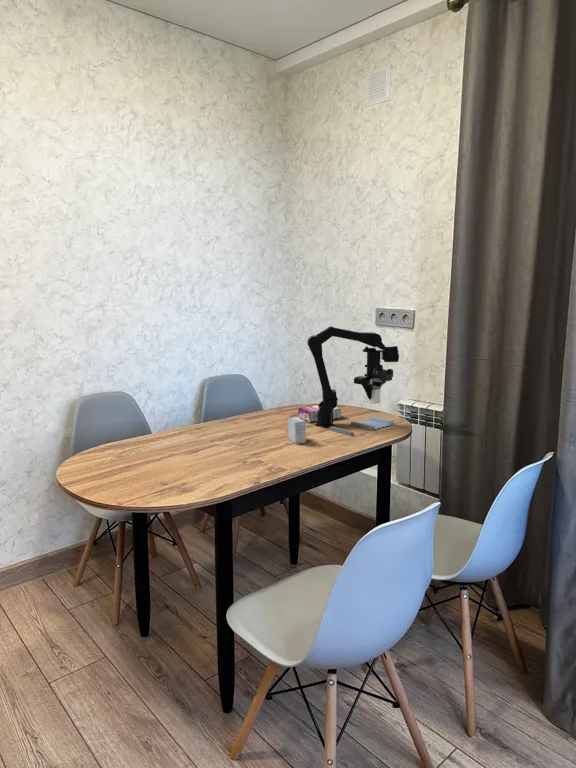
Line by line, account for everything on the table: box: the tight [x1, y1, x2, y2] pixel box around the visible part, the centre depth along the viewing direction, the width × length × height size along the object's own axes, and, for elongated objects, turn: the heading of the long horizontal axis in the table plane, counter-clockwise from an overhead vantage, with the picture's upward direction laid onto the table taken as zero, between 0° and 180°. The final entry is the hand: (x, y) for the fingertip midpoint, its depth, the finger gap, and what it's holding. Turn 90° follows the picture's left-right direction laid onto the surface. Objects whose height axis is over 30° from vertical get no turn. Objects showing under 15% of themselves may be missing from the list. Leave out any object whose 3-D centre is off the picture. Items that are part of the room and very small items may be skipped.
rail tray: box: [329, 416, 395, 437], centre depth 226 cm, size 27×12×2 cm, turn 130°
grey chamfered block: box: [365, 386, 381, 405], centre depth 228 cm, size 4×5×7 cm
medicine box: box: [287, 416, 307, 445], centre depth 206 cm, size 8×4×9 cm, turn 22°
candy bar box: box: [297, 405, 342, 423], centre depth 243 cm, size 11×5×16 cm
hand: (372, 398), depth 228 cm, fingers closed on grey chamfered block, 3 cm apart
